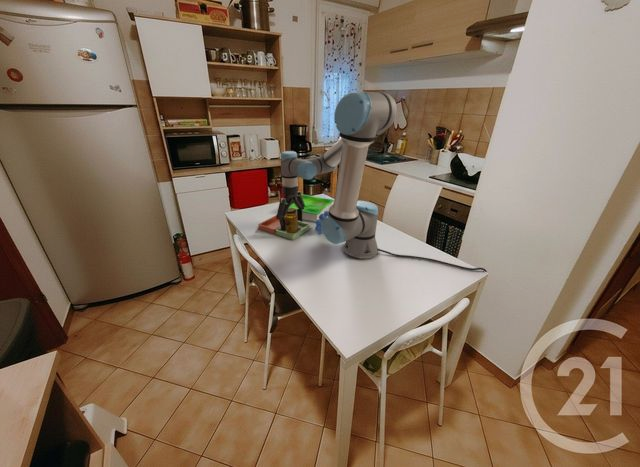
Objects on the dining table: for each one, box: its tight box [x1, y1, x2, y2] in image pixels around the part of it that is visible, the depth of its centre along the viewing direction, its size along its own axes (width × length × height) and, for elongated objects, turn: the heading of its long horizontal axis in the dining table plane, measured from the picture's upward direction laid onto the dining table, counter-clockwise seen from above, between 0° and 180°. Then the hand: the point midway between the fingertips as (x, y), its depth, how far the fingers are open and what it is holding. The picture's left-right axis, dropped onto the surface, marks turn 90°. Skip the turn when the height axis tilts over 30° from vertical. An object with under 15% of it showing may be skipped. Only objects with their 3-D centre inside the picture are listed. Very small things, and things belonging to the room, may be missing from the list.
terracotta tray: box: [257, 214, 283, 235], centre depth 142 cm, size 11×15×2 cm
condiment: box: [284, 208, 303, 234], centre depth 134 cm, size 7×8×12 cm
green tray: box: [275, 220, 311, 241], centre depth 137 cm, size 11×15×2 cm
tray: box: [286, 193, 335, 223], centre depth 161 cm, size 25×25×5 cm
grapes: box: [314, 211, 329, 235], centre depth 134 cm, size 12×7×12 cm, turn 129°
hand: (292, 225), depth 135 cm, fingers open, 13 cm apart
